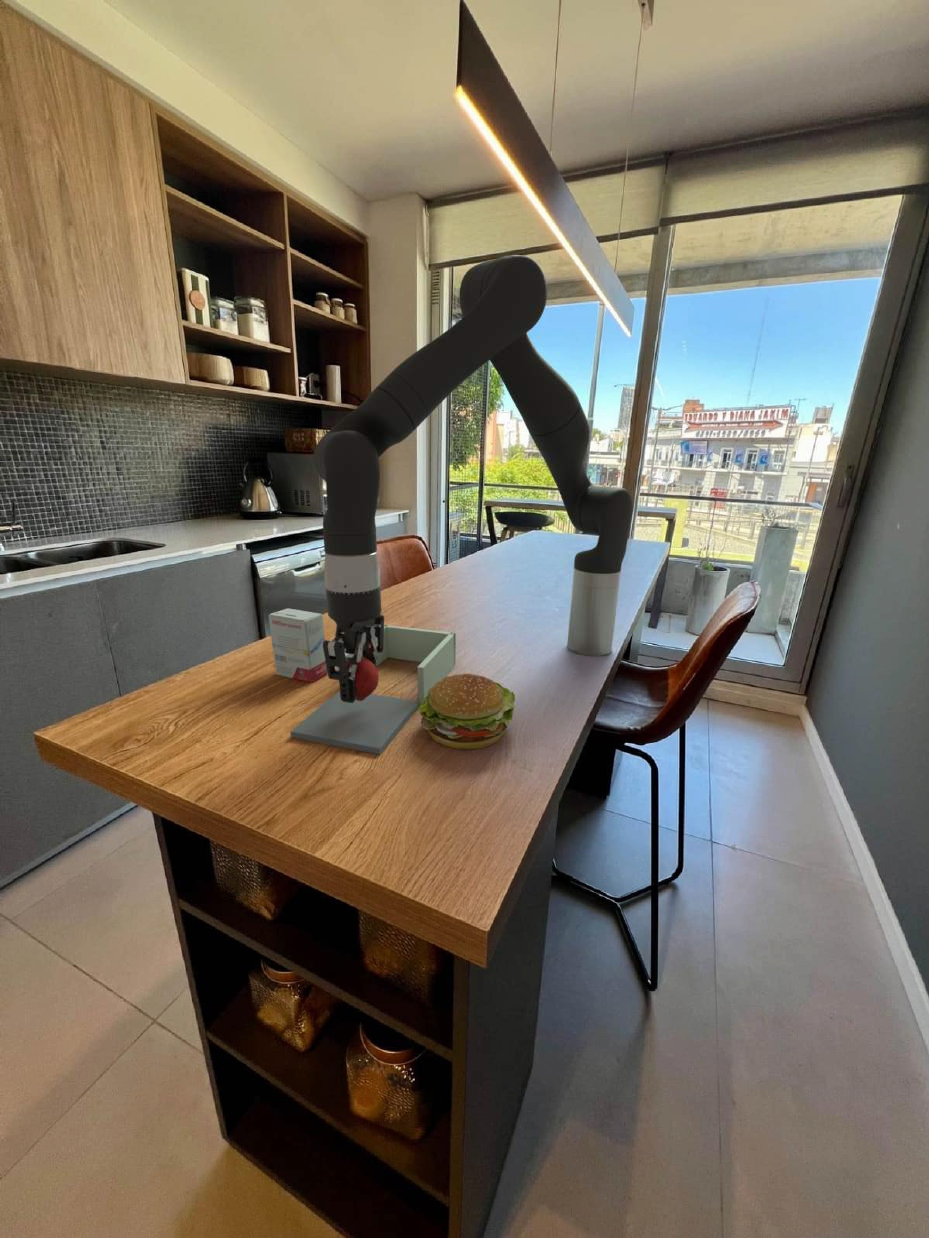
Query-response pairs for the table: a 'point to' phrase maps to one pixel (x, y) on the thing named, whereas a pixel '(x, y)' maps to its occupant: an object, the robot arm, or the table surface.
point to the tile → (357, 722)
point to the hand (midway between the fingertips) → (359, 691)
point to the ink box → (298, 644)
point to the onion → (365, 678)
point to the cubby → (420, 653)
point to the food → (467, 711)
